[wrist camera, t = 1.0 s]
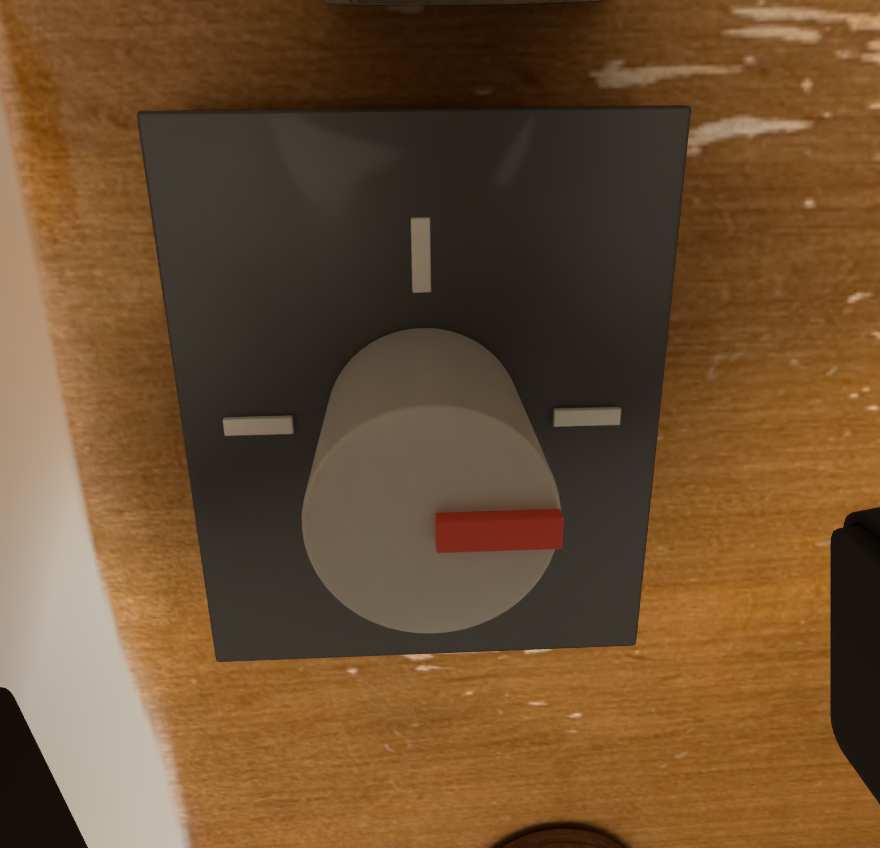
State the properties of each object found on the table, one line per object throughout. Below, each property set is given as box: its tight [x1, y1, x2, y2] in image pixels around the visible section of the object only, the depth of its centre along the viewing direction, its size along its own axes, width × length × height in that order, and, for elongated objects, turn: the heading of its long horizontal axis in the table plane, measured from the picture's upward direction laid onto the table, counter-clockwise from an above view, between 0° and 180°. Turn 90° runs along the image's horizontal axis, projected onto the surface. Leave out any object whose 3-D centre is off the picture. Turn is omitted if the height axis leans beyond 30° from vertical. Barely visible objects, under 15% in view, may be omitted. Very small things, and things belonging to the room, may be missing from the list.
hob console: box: [137, 105, 691, 662], centre depth 17 cm, size 12×10×3 cm
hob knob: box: [302, 328, 564, 633], centre depth 14 cm, size 4×4×5 cm
